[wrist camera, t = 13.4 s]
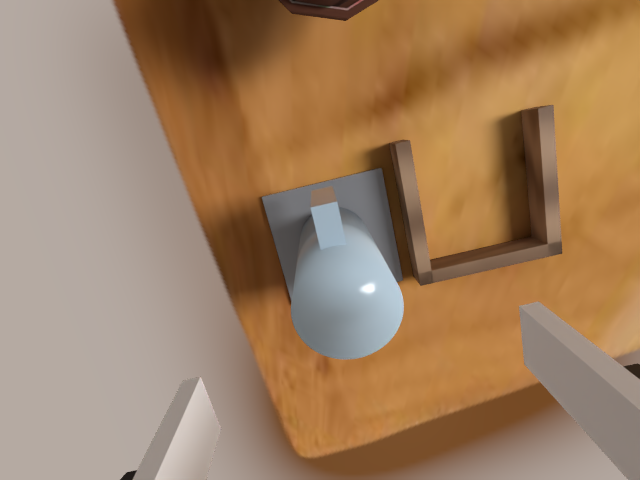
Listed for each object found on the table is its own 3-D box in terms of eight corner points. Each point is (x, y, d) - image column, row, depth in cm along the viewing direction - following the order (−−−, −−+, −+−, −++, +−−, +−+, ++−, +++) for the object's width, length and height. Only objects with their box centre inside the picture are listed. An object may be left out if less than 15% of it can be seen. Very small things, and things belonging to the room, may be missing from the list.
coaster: (262, 196, 33) (261, 197, 33) (381, 167, 33) (381, 167, 33) (292, 304, 36) (292, 305, 36) (402, 279, 36) (403, 280, 36)
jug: (308, 279, 35) (305, 369, 22) (285, 187, 33) (265, 226, 20) (374, 264, 35) (411, 346, 22) (355, 171, 33) (384, 199, 19)
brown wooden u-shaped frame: (389, 143, 32) (395, 144, 30) (535, 107, 32) (553, 104, 29) (413, 275, 36) (420, 285, 34) (545, 245, 35) (562, 253, 33)
